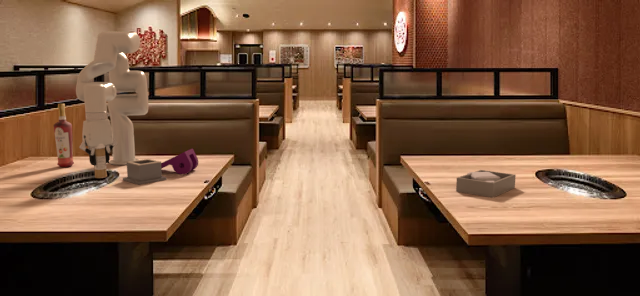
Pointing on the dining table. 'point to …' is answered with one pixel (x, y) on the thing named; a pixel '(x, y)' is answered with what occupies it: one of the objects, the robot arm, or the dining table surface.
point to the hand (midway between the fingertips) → (100, 163)
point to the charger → (484, 176)
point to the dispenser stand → (486, 184)
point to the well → (144, 171)
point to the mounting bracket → (183, 162)
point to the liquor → (63, 139)
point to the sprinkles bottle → (100, 161)
